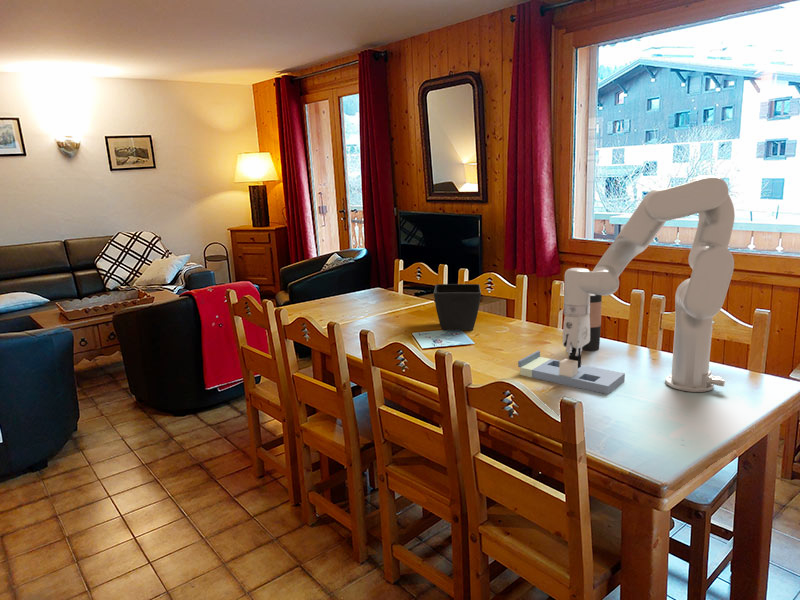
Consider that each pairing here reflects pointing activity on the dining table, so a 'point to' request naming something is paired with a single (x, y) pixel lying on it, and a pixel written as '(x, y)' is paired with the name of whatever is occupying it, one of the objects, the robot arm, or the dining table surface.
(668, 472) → the dining table surface
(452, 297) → the flower pot
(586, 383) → the board
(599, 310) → the travel mug
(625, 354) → the dining table surface
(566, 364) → the cream block
